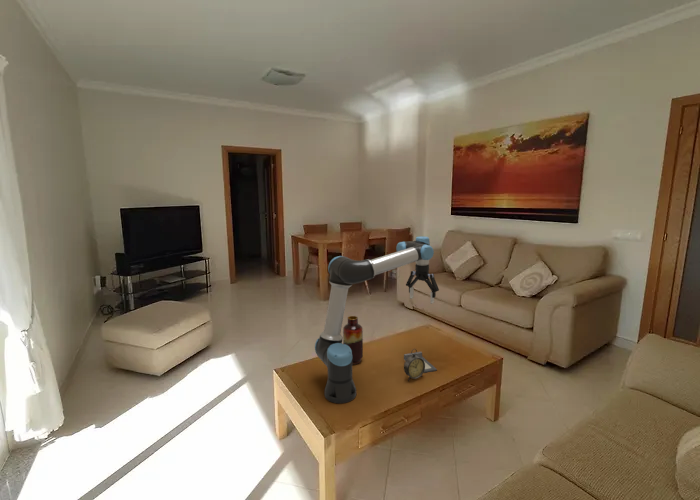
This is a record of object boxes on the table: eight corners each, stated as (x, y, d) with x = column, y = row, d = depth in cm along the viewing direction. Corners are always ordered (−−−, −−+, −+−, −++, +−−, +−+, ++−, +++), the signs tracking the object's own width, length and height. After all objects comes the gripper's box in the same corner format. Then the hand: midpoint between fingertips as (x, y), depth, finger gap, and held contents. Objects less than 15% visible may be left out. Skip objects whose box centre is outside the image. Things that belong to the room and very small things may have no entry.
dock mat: (418, 374, 179) (418, 368, 178) (403, 359, 195) (403, 354, 195) (436, 370, 182) (437, 365, 182) (420, 356, 199) (420, 351, 198)
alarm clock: (408, 383, 170) (408, 353, 167) (401, 378, 175) (402, 348, 172) (425, 378, 175) (426, 348, 172) (418, 373, 180) (419, 344, 177)
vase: (341, 364, 190) (340, 320, 186) (346, 355, 201) (345, 313, 197) (360, 366, 188) (360, 321, 184) (364, 357, 198) (364, 315, 194)
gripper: (445, 265, 183) (444, 303, 186) (407, 260, 200) (407, 295, 203) (438, 268, 178) (437, 306, 181) (400, 262, 195) (399, 297, 198)
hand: (421, 300), depth 192 cm, fingers open, 13 cm apart
